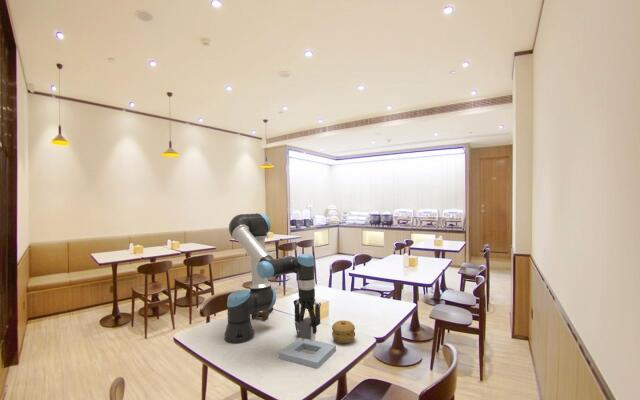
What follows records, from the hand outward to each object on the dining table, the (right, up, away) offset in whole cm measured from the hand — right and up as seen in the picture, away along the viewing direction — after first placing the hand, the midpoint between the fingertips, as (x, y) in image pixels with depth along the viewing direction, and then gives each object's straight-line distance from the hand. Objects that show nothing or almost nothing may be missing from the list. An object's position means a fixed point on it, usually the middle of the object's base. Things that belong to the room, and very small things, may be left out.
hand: (307, 338), depth 142 cm
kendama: (-30, -9, +49) cm, 58 cm away
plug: (0, 0, 0) cm, 0 cm away
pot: (+18, -7, +13) cm, 23 cm away
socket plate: (0, -7, 0) cm, 7 cm away
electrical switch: (-3, -8, +20) cm, 21 cm away
